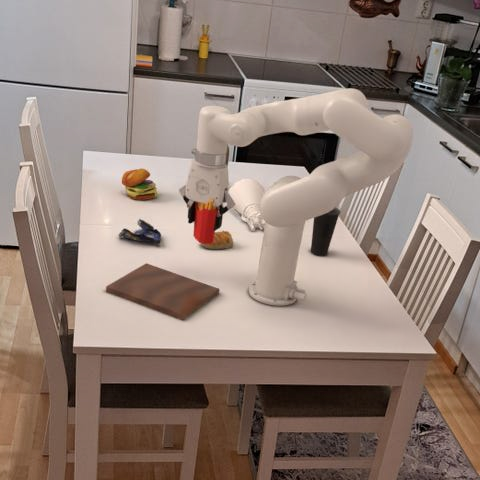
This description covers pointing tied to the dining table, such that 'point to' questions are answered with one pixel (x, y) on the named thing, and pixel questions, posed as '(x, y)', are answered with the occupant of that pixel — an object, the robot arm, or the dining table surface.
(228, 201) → the robot arm
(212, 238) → the french fries
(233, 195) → the rocket engine
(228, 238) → the pastry
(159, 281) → the cutting board
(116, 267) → the dining table surface
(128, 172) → the cheeseburger
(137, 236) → the snack package
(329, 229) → the drinking cup
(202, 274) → the dining table surface
